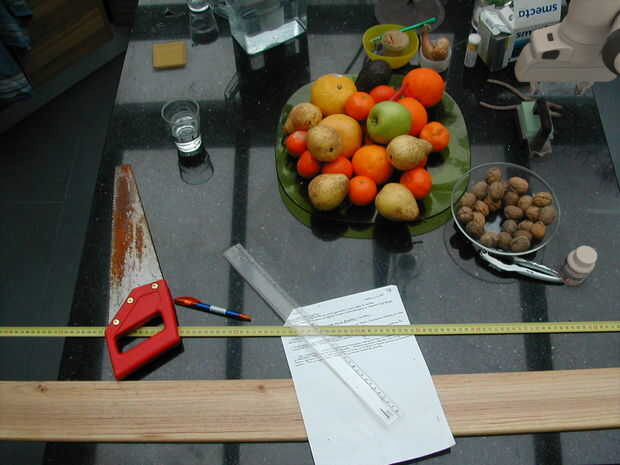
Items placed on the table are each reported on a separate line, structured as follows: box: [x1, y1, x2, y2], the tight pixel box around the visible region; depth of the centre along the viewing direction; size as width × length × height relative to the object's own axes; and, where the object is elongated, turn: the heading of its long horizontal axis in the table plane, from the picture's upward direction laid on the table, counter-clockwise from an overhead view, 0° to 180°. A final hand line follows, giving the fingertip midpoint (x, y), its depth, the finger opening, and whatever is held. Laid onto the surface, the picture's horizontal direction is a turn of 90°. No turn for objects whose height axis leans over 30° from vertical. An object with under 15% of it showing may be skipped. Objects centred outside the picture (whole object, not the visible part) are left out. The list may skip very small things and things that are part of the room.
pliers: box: [479, 79, 564, 119], centre depth 142 cm, size 10×1×20 cm
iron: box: [513, 97, 555, 165], centre depth 131 cm, size 15×7×10 cm, turn 178°
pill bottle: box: [557, 245, 598, 286], centre depth 113 cm, size 5×5×9 cm
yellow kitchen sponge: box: [152, 40, 187, 69], centre depth 151 cm, size 9×9×2 cm
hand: (555, 92), depth 123 cm, fingers open, 8 cm apart
